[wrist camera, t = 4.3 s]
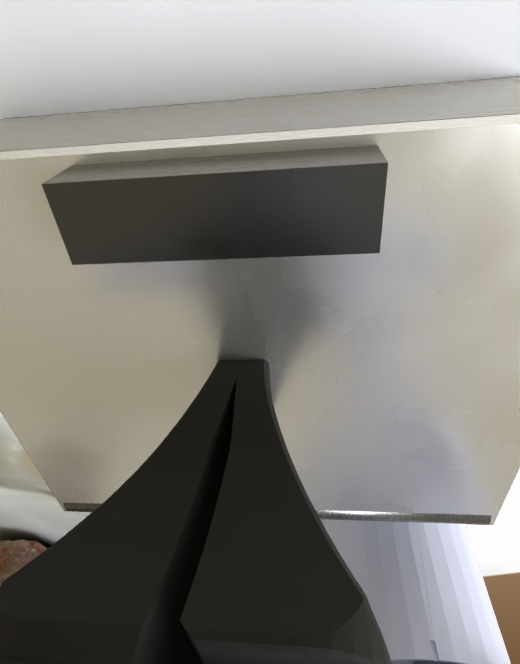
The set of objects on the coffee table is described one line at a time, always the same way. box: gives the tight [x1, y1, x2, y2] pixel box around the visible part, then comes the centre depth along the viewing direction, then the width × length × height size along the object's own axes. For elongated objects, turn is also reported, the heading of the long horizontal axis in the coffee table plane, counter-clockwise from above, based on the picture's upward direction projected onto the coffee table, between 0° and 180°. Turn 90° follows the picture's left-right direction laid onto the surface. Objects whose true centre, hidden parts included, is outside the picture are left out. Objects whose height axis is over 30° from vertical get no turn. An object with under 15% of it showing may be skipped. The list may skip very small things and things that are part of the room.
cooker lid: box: [0, 114, 520, 525], centre depth 12 cm, size 13×16×2 cm
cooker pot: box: [0, 77, 520, 152], centre depth 14 cm, size 13×19×5 cm
